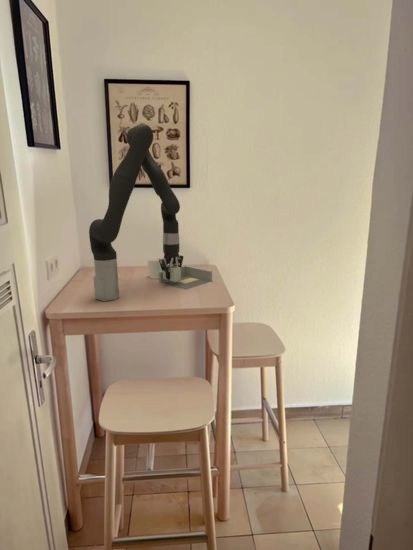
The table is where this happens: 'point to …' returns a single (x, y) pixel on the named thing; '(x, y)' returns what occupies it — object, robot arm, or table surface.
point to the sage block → (173, 273)
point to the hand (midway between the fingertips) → (171, 278)
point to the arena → (189, 278)
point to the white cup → (154, 267)
